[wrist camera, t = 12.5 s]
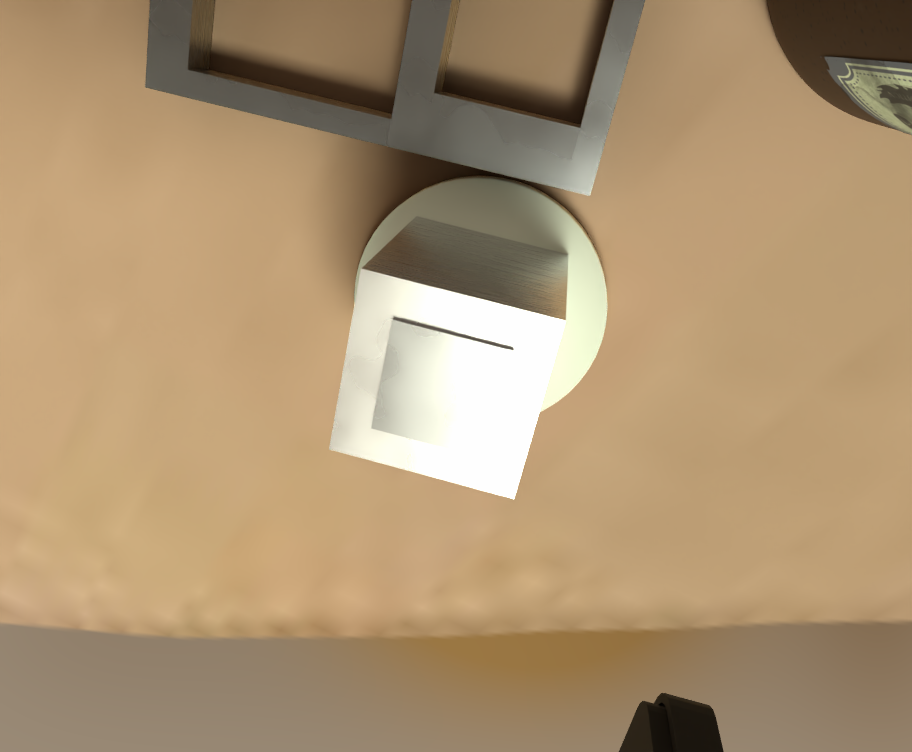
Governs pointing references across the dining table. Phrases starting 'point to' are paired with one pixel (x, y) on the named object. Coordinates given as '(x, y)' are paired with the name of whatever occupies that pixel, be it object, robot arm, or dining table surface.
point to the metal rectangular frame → (410, 97)
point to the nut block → (451, 354)
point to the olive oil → (852, 54)
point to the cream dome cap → (527, 221)
